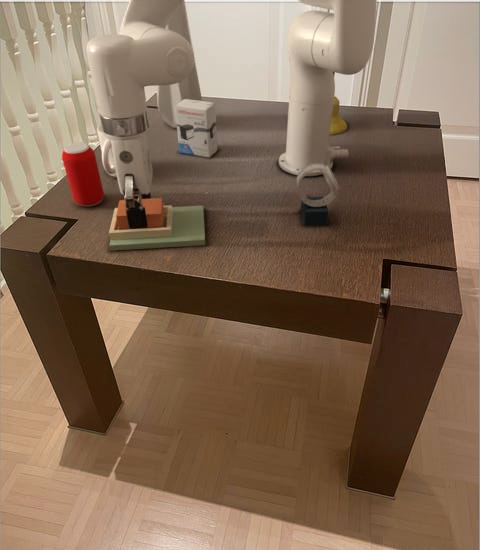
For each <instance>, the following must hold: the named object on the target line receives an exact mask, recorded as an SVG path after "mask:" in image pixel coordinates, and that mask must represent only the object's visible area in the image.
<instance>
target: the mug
mask: <svg viewBox="0 0 480 550" xmlns="http://www.w3.org/2000/svg"><path fill="white" fill-rule="evenodd" d="M96 132H97V136H98V140H99V146H100V150H101V161H102V166H103V170H104V171H105V172H106V173H107V174H108V175H109V176H111V177H112V178H113V177H114V178H117V174H116V169H115V163H114V157H113V152H112V144H111V139H110V138H108V137H106V136H104V134H103V130H102V126H101V124H98V126H97V127H96Z"/></svg>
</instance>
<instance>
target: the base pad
mask: <svg viewBox="0 0 480 550" xmlns="http://www.w3.org/2000/svg"><path fill="white" fill-rule="evenodd" d="M163 206H164V213H165V221H164V228H147V229H129V230H119V228H118V223H117V218H116V214H117V210H118V207H115V208H114V210H113V214H112V219H111V222H110V227H109V231H108V235H109V240H110V241H109V246H108V247H109V249H110V251H111V252H112V251H128V250H129V251H130V250H131V251H132V250H145V249H161V248H163V249H164V248H178V247H181V248H182V247H196V246H206V231H205V212H204V210H205V209H204V205H187V206H186V205H184V206H173V205H172V204H166V205H165V204H163Z"/></svg>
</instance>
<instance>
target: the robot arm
mask: <svg viewBox="0 0 480 550" xmlns="http://www.w3.org/2000/svg"><path fill="white" fill-rule="evenodd" d="M182 1H183V0H129V1H128V4H127V7H126V9H125V13H124V15H123V18H122V21H121V25H120V28H119V32H118V33H115V34H113V33H112V34H101V35H98V36H95V37H92V38H91V39H89V41H88V42H87V44H86V47H85V49H86V50H85V51H86V57H87V63H88V67H89V72H90V77H91V81H92V87H93V91H94V96H95V101H96V106H97V111H98V116H99V120H100V125H101V126H102V130H103V134H104V136H106V137H108V138H110V139H111V144H112V152H113V157H114V163H115V169H116V174H117V177H116V178H117V183H118V188H119V192H120V194H121V195H122V196H124V200H125V206H126V214H127V219H128V224H129V228H130V229H140V228H147V227H148V223H147V217H146V211H145V207H143V200H142V199H152V195H151V190H152V183H153V173H154V172H153V164H152V159H151V154H150V153H151V152H150V147H149V144H148V143H149V142H148V137H147V134H148V133H149V132H150V130H151V126H150V119H149V112H148V106H147V98H146V91H145V88H146V87H153V86H157V85H171V84H176V83H179V82H181V81H183V80H184V79H185V78H187V77H188V75H189V74H190V73H191V71H192V69H193V66H194V61H195V62H196V57H195V52H193V51H194V48H193V49H192V47H191V45H190V43H189V42H188V41H187V40H186V39H185V38H184V37H183V36H181V35H180V34H178V33H176V32H173V31H170V30H167V29H165V28H166V26H167V23H168V21H169V19H170V17H171V15H172V13H173V12H174V10H175V9H176V8H177V6H178V5H179V4H180V3H181V2H182ZM297 1H298V2H300V3H301V4H304V5H307V6H311V7H315V8H321V9H325V10H331V11H333V12H328V11H322V10H315V9H314V10H307V11H303V12H301V13H299V14H298V15H297V16H296V17H295V18H294V19H293V20H292V22H291V23H290V26H289V29H288V32H287V39H286V44H287V45H286V47H287V54H288V61H289V94H288V95H289V96H288V112H287V127H286V128H287V130H286V144H285V152H283V153H282V154H281V155H280V156H279V158H278V166H279V167H280V168H281V169H282V170H283V171H284V172H286V173H288V174H291V175H295V176H298V174H299V173H300V171H301V170H302V169H303V168H305V167H306V166H308V165H311V164H316V163H317V164H318V163H319V164H324V165H325V166H327V165H328V166H329V167H330V169H331V170H332V169H333V165H334V160H335V159H347V158H348V157H349V149H347V148H345V149H344V148H343V149H341V147H340V146H339V145H335V146H330V144H329V143H330V135H331V134H330V127H331V119H332V110H333V102H334V96H335V93H336V81H335V80H336V79H335V75H333V72H335V74H340V75H345V76H352V75H356V74H358V73H360V72H361V71H362V70H363V69H364V68H365V67H366V66H367V64H368V62H369V60H370V59H371V56H372V52H373V48H374V44H375V43H374V42H375V33H376V17H377V1H378V0H297ZM321 175H323V173H322V171H320V170H319V171H313V172H309V173H308V174H307V175H305V176H304V177H317V176H321ZM135 199H138V201H139V203H138V201H137V200H135Z"/></svg>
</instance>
